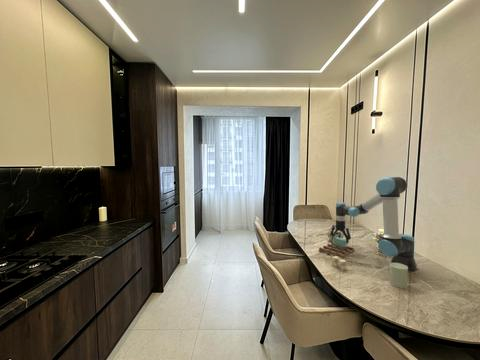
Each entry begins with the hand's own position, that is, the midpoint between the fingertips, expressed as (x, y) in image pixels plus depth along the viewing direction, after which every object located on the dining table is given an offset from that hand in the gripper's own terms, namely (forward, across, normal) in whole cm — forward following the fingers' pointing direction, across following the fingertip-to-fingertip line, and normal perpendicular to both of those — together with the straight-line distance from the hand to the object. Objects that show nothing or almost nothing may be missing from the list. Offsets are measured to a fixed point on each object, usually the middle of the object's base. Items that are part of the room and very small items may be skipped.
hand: (340, 245), depth 196 cm
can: (+4, -52, +30) cm, 60 cm away
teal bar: (0, 0, 0) cm, 0 cm away
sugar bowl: (+4, +14, -18) cm, 23 cm away
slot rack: (+4, 0, +7) cm, 8 cm away
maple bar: (+4, -16, +34) cm, 37 cm away
